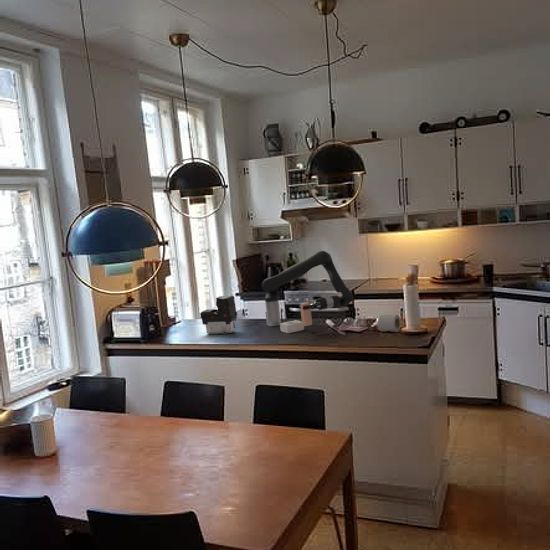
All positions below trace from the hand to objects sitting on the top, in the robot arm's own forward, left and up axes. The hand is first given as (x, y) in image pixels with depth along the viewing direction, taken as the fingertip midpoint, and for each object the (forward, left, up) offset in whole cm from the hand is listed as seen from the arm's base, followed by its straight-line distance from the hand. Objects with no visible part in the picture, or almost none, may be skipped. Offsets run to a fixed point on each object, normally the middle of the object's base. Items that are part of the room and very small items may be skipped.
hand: (301, 307), depth 345 cm
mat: (+1, +3, -17) cm, 17 cm away
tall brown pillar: (+1, +3, -11) cm, 12 cm away
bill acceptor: (-60, -17, -17) cm, 65 cm away
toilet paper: (+48, +24, -17) cm, 56 cm away
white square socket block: (-12, +3, -17) cm, 21 cm away
